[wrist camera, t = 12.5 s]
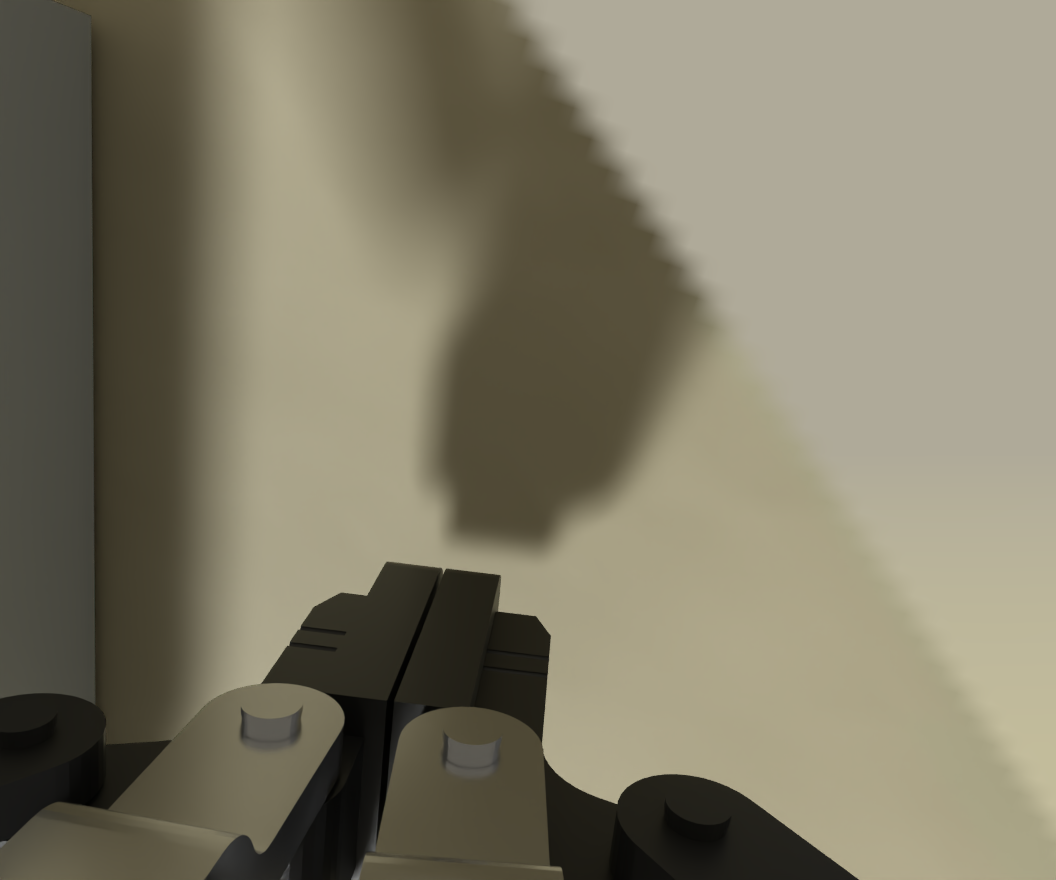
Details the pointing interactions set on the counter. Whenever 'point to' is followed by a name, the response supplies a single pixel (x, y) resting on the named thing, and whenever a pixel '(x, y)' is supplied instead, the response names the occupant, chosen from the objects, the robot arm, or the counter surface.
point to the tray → (46, 352)
